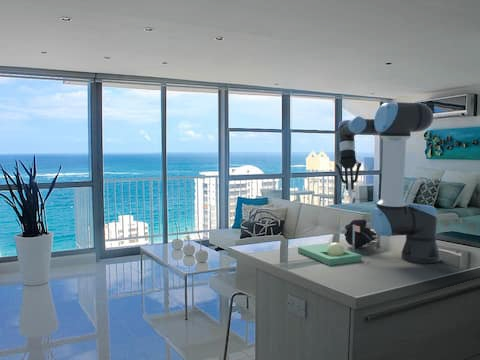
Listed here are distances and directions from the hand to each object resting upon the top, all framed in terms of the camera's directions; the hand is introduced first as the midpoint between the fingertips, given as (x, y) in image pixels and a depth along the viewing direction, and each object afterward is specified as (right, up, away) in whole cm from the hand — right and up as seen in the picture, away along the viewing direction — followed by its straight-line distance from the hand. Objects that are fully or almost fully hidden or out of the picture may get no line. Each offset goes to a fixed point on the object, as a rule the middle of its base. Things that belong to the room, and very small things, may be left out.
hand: (350, 196), depth 209 cm
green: (-17, -25, -28) cm, 41 cm away
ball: (-15, -22, -33) cm, 42 cm away
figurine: (+1, -25, -11) cm, 27 cm away
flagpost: (-6, -25, -31) cm, 40 cm away
